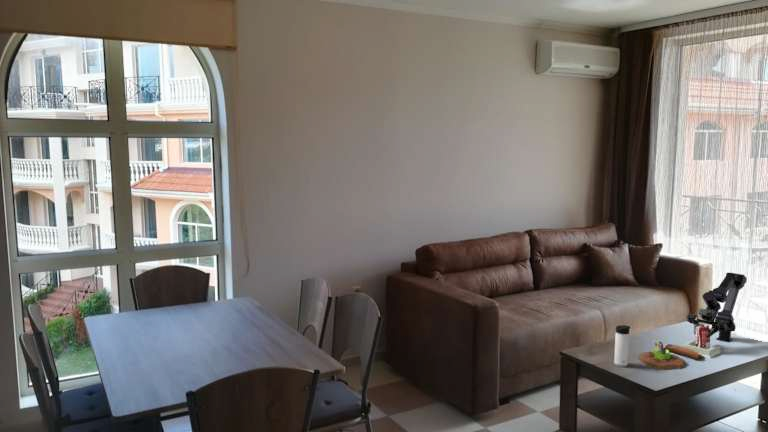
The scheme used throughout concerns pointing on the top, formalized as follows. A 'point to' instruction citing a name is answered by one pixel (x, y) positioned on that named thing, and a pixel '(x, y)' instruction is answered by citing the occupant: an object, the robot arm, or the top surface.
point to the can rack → (701, 351)
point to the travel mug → (621, 346)
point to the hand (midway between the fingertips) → (701, 335)
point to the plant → (662, 358)
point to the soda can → (702, 336)
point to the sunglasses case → (685, 352)
